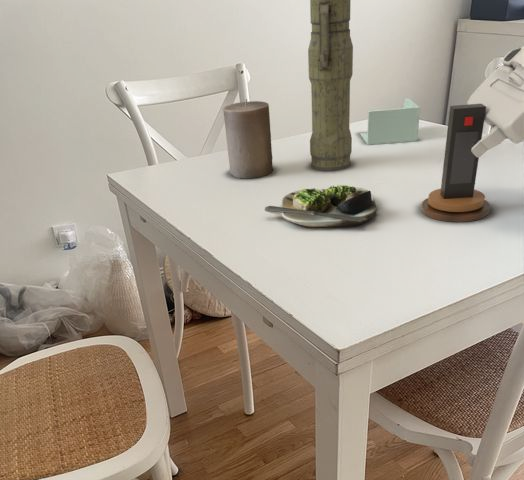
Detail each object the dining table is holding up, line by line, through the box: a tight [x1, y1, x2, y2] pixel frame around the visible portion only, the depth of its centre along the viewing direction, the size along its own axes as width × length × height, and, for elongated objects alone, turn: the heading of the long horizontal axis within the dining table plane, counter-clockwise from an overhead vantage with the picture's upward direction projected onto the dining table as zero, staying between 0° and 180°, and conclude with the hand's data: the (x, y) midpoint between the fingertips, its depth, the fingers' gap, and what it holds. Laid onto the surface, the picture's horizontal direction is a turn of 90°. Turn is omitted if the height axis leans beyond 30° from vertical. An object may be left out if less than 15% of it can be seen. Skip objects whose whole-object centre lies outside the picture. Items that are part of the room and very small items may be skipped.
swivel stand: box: [420, 197, 491, 223], centre depth 92 cm, size 11×11×1 cm
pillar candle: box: [222, 98, 274, 179], centre depth 115 cm, size 10×10×15 cm
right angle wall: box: [359, 97, 421, 146], centre depth 134 cm, size 12×12×8 cm
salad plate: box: [264, 184, 378, 228], centre depth 94 cm, size 19×18×5 cm
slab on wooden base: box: [427, 104, 486, 212], centre depth 87 cm, size 9×9×15 cm
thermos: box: [307, 0, 354, 172], centre depth 109 cm, size 9×12×35 cm
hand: (464, 145), depth 86 cm, fingers open, 8 cm apart
